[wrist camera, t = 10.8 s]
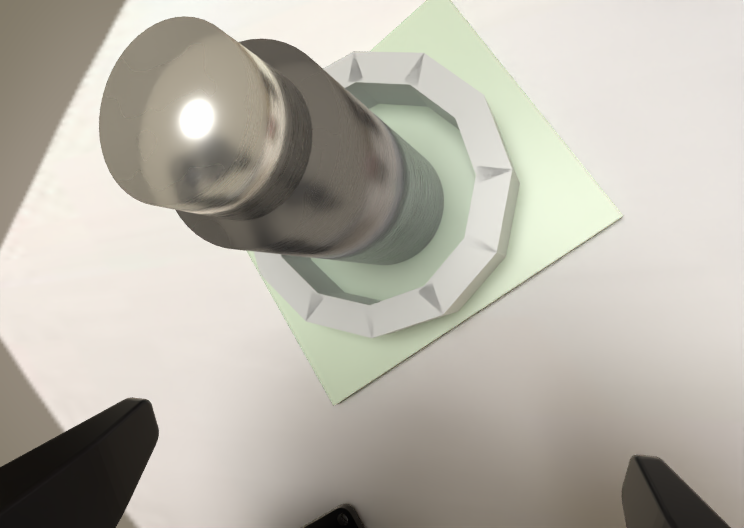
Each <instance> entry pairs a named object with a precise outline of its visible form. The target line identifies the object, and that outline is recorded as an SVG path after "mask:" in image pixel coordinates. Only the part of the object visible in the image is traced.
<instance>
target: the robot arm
mask: <svg viewBox="0 0 744 528" xmlns="http://www.w3.org/2000/svg"><path fill="white" fill-rule="evenodd" d="M158 436H159V429H158V425H157V421H156V418H155V414H154V411H153V407H152V404H151V402H150V401H149V400H147V399H141V398H127V399H125V400H123V401H121V402H119V403H117V404H115V405H113V406H112V407H110V408H108V409H106V410H104V411H102V412H101V413H99V414H97V415H95V416H93V417H91V418H90V419H88V420H86V421H84V422H82V423H80V424H79V425H77V426H75V427H73V428H71V429H69V430H68V431H66V432H64V433H62V434H60V435H59V436H57V437H55V438H53V439H51V440H49V441H47V442H46V443H44V444H42V445H40V446H38V447H37V448H35V449H33V450H31V451H29V452H27V453H26V454H24V455H22V456H20V457H18V458H16V459H14V460H13V461H11V462H9V463H7V464H5V465H4V466H2V467H0V528H116V526H117V524H118V522H119V521H120V519H121V517H122V515H123V513H124V511H125V509H126V507H127V505H128V503H129V501H130V499H131V497H132V495H133V493H134V490H135V488H136V486H137V484H138V482H139V480H140V478H141V475H142V473H143V471H144V469H145V467H146V465H147V463H148V460H149V458H150V456H151V454H152V452H153V450H154V448H155V445H156V443H157V440H158ZM622 504H623V510H624V516H625V521H626V527H627V528H731V527H730V526H729V525H728V524H727V523H726V522H725V521H724V520H723V519H722V518H721V517H720V516H719V515H718V514H717V513H716V512H715V511H713V510H712V509H711V508H710V507H709V506H708V505H707V504H706V503H705V502H704V501H703V500H702V499H701V498H700V497H699V496H698V495H697V494H696V493H695V492H694V491H693V490H692V489H691V488H690V487H689V486H688V485H687V484H686V483H685V482H684V481H683V480H682V479H681V478H680V477H679V476H678V475H677V474H676V473H675V472H674V471H673V470H672V469H671V468H670V467H669V466H668V465H667V464H666V463H665V462H664V461H663V460H661V459H660V458H658V457H654V456H646V455H633V456H632V457H631V459H630V461H629V465H628V469H627V472H626V476H625V479H624V483H623V487H622ZM341 513H343V514H345V515H346V516H347V518H348V522H346V521H344V520H343V519H342V516H341ZM302 528H364V526H363V524H362V522H361V521H360V519H359V517H358V515H357V513H356V511H355V510H354V509H353V507H352V506H350V505H348V504H342V505H340V506H338V507H336V508H335V509H333V510H331V511H329V512H328V513H326V514H324V515H322V516H321V517H319V518H317V519H315V520H314V521H312V522H310V523H309V524H307V525H305V526H303V527H302Z"/></svg>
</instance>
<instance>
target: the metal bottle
mask: <svg viewBox="0 0 744 528" xmlns="http://www.w3.org/2000/svg"><path fill="white" fill-rule="evenodd" d="M99 133H100V143H101V148H102V153H103V156H104V159H105V162H106V164H107V167H108V169H109V171H110V173H111V175H112V176H113V178H114V180H115V181H116V182H117V183H118V185H119V186H120V187H121V188H122V189H123V190H124V191H125V192H126V193H127V194H129V195H130V196H132V197H133V198H135V199H137V200H139V201H141V202H143V203H146V204H150V205H154V206H160V207H165V208H170V209H175V210H176V211H177V213H178V215H179V216H180V218H181V219H182V220H183V221H184V223H185V224H186V225H187V226H188V227H189V228H190V229H191V230H192V231H193V232H194V233H195V234H197V235H198V236H200V237H201V238H203V239H204V240H206V241H208V242H210V243H212V244H214V245H217V246H220V247H224V248H229V249H237V250H246V251H255V252H265V253H274V254H283V255H292V256H301V257H310V258H320V259H329V260H338V261H347V262H356V263H366V264H375V265H392V264H397V263H401V262H404V261H406V260H408V259H410V258H412V257H414V256H415V255H417V254H418V253H419V252H421V251H422V250H423V249H424V248H425V247H426V246H427V245H428V244H429V243H430V241H431V240H432V238H433V237H434V235H435V234H436V232H437V230H438V228H439V225H440V223H441V219H442V215H443V209H444V194H443V188H442V184H441V181H440V178H439V176H438V174H437V172H436V171H435V169H434V167H433V166H432V165H431V164H430V162H429V161H428V160H427V159H426V158H425V157H423V156H422V155H421V154H420V153H419V152H418V151H417V150H415V149H414V148H413V147H412V146H411V145H410V144H409V143H407V142H406V141H405V140H404V139H403V138H402V137H401V136H399V135H398V134H397V133H396V132H395V131H394V130H392V129H391V128H390V127H389V126H388V125H387V124H386V123H384V122H383V121H382V120H381V119H380V118H379V117H378V116H376V115H375V114H374V113H373V112H372V111H371V110H369V109H368V108H367V107H366V106H365V105H364V104H363V103H361V102H360V101H359V100H358V99H357V98H356V97H355V96H353V95H352V94H351V93H350V92H349V91H348V90H346V89H345V88H344V87H343V86H342V85H341V84H340V83H338V82H337V81H336V80H335V79H334V78H333V77H332V76H330V75H329V74H328V73H327V72H326V71H325V70H323V69H322V68H321V67H320V66H319V65H318V64H317V63H315V62H314V61H313V60H312V59H311V58H310V57H309V56H307V55H306V54H305V53H303V52H302V51H300V50H299V49H297V48H296V47H294V46H291V45H289V44H287V43H284V42H280V41H276V40H270V39H251V40H246V41H242V42H237V41H236V40H234V39H233V38H232V37H230V36H229V35H227V34H226V33H225V32H223V31H222V30H221V29H219V28H218V27H216V26H215V25H213V24H212V23H209V22H207V21H205V20H203V19H199V18H195V17H175V18H171V19H167V20H164V21H161V22H159V23H157V24H155V25H153V26H151V27H150V28H148V29H146V30H145V31H144V32H142V33H141V34H140V35H138V36H137V37H136V38H135V39H134V40H133V41H132V42H131V43H130V44H129V46H128V47H127V48H126V49H125V50H124V52H123V53H122V55H121V56H120V58H119V59H118V61H117V62H116V64H115V66H114V68H113V70H112V72H111V74H110V76H109V79H108V81H107V84H106V87H105V90H104V93H103V97H102V102H101V108H100V116H99Z"/></svg>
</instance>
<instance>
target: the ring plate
mask: <svg viewBox="0 0 744 528" xmlns="http://www.w3.org/2000/svg"><path fill="white" fill-rule="evenodd" d="M323 70H325V71H326V72H327V73H328V74H329V75H330V76H332V77H333V78H334V79H335V80H336V81H337V82H338V83H340V84H341V85H342V86H343V87H344V88H345V89H346V90H348V91H349V92H350V93H351V94H352V95H353V96H355V97H356V98H357V99H358V100H359V101H360V102H361V103H363V104H364V105H365V106H366V107H367V108H368V109H369V110H371V111H372V112H373V113H374V114H375V115H376V116H378V117H379V118H380V119H381V120H382V121H383V122H384V123H386V124H387V125H388V126H389V127H390V128H391V129H392V130H394V131H395V132H396V133H397V134H398V135H399V136H401V137H402V138H403V139H404V140H405V141H406V142H407V143H409V144H410V145H411V146H412V147H413V148H414V149H415V150H417V151H418V152H419V153H420V154H421V155H422V156H423V157H425V158H426V159H427V160H428V161H429V162H430V164H431V165H432V166H433V167H434V169H435V171H436V172H437V174H438V176H439V178H440V181H441V184H442V188H443V194H444V209H443V215H442V219H441V223H440V225H439V228H438V230H437V232H436V234H435V235H434V237H433V238H432V240H431V241H430V243H429V244H428V245H427V246H426V247H425V248H424V249H423V250H422V251H421V252H419V253H418V254H417V255H415V256H414V257H412V258H410V259H408V260H406V261H404V262H401V263H397V264H392V265H375V264H366V263H356V262H347V261H338V260H329V259H320V258H310V257H301V256H292V255H283V254H274V253H265V252H255V251H247V253H248V254H249V256H250V258H251V260H252V261H253V263H254V265H255V267H256V269H257V270H258V272H259V274H260V276H261V278H262V279H263V281H264V283H265V285H266V286H267V288H268V290H269V292H270V294H271V295H272V297H273V299H274V301H275V302H276V304H277V306H278V308H279V310H280V311H281V313H282V315H283V317H284V319H285V320H286V322H287V324H288V326H289V327H290V329H291V331H292V333H293V335H294V336H295V338H296V340H297V342H298V343H299V345H300V347H301V349H302V351H303V352H304V354H305V356H306V358H307V360H308V361H309V363H310V365H311V367H312V368H313V370H314V372H315V374H316V376H317V377H318V379H319V381H320V383H321V384H322V386H323V388H324V390H325V392H326V393H327V395H328V397H329V399H330V401H331V402H332V404H333V406H334V405H336V404H338V403H340V402H341V401H343V400H344V399H346V398H347V397H349V396H350V395H352V394H353V393H355V392H356V391H358V390H359V389H361V388H363V387H364V386H366V385H367V384H369V383H370V382H372V381H373V380H375V379H376V378H378V377H379V376H381V375H382V374H384V373H385V372H387V371H388V370H390V369H392V368H393V367H395V366H396V365H398V364H399V363H401V362H402V361H404V360H405V359H407V358H408V357H410V356H411V355H413V354H414V353H416V352H417V351H419V350H420V349H422V348H424V347H425V346H427V345H428V344H430V343H431V342H433V341H434V340H436V339H437V338H439V337H440V336H442V335H443V334H445V333H446V332H448V331H449V330H451V329H453V328H454V327H456V326H457V325H459V324H460V323H462V322H463V321H465V320H466V319H468V318H469V317H471V316H472V315H474V314H475V313H477V312H478V311H480V310H482V309H483V308H485V307H486V306H488V305H489V304H491V303H492V302H494V301H495V300H497V299H498V298H500V297H501V296H503V295H504V294H506V293H507V292H509V291H510V290H512V289H514V288H515V287H517V286H518V285H520V284H521V283H523V282H524V281H526V280H527V279H529V278H530V277H532V276H533V275H535V274H536V273H538V272H539V271H541V270H543V269H544V268H546V267H547V266H549V265H550V264H552V263H553V262H555V261H556V260H558V259H559V258H561V257H562V256H564V255H565V254H567V253H568V252H570V251H571V250H573V249H575V248H576V247H578V246H579V245H581V244H582V243H584V242H585V241H587V240H588V239H590V238H591V237H593V236H594V235H596V234H597V233H599V232H600V231H602V230H604V229H605V228H607V227H608V226H610V225H611V224H613V223H614V222H616V221H617V220H619V219H620V218H622V217H623V215H622V214H621V212H620V211H619V210H618V209H617V207H616V206H615V205H614V204H613V202H612V201H611V200H610V199H609V198H608V196H607V195H606V194H605V193H604V191H603V190H602V189H601V188H600V186H599V185H598V184H597V183H596V181H595V180H594V179H593V178H592V176H591V175H590V174H589V173H588V171H587V170H586V169H585V168H584V166H583V165H582V164H581V163H580V161H579V160H578V159H577V158H576V156H575V155H574V154H573V153H572V151H571V150H570V149H569V148H568V146H567V145H566V144H565V143H564V141H563V140H562V139H561V138H560V136H559V135H558V134H557V133H556V131H555V130H554V129H553V128H552V127H551V125H550V124H549V123H548V122H547V120H546V119H545V118H544V117H543V115H542V114H541V113H540V112H539V110H538V109H537V108H536V107H535V105H534V104H533V103H532V102H531V100H530V99H529V98H528V97H527V95H526V94H525V93H524V92H523V90H522V89H521V88H520V87H519V85H518V84H517V83H516V82H515V80H514V79H513V78H512V77H511V75H510V74H509V73H508V72H507V70H506V69H505V68H504V67H503V65H502V64H501V63H500V62H499V60H498V59H497V58H496V57H495V56H494V54H493V53H492V52H491V51H490V49H489V48H488V47H487V46H486V44H485V43H484V42H483V41H482V39H481V38H480V37H479V36H478V34H477V33H476V32H475V31H474V29H473V28H472V27H471V26H470V24H469V23H468V22H467V21H466V19H465V18H464V17H463V16H462V14H461V13H460V12H459V11H458V9H457V8H456V7H455V6H454V4H453V3H452V2H451V1H450V0H426V1H425V2H424V3H423V4H422V5H421V6H420V7H419V8H417V9H416V10H415V11H414V12H413V13H412V14H411V15H410V16H409V17H407V18H406V19H405V20H404V21H403V22H402V23H401V24H400V25H399V26H397V27H396V28H395V29H394V30H393V31H392V32H391V33H390V34H389V35H387V36H386V37H385V38H384V39H383V40H382V41H381V42H380V43H379V44H377V45H376V46H375V47H374V48H373V49H372V50H371V51H370V52H361V51H354V52H352V53H350V54H348V55H347V56H345V57H343V58H341V59H339V60H338V61H336V62H334V63H332V64H330V65H329V66H327V67H325V68H323Z"/></svg>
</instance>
